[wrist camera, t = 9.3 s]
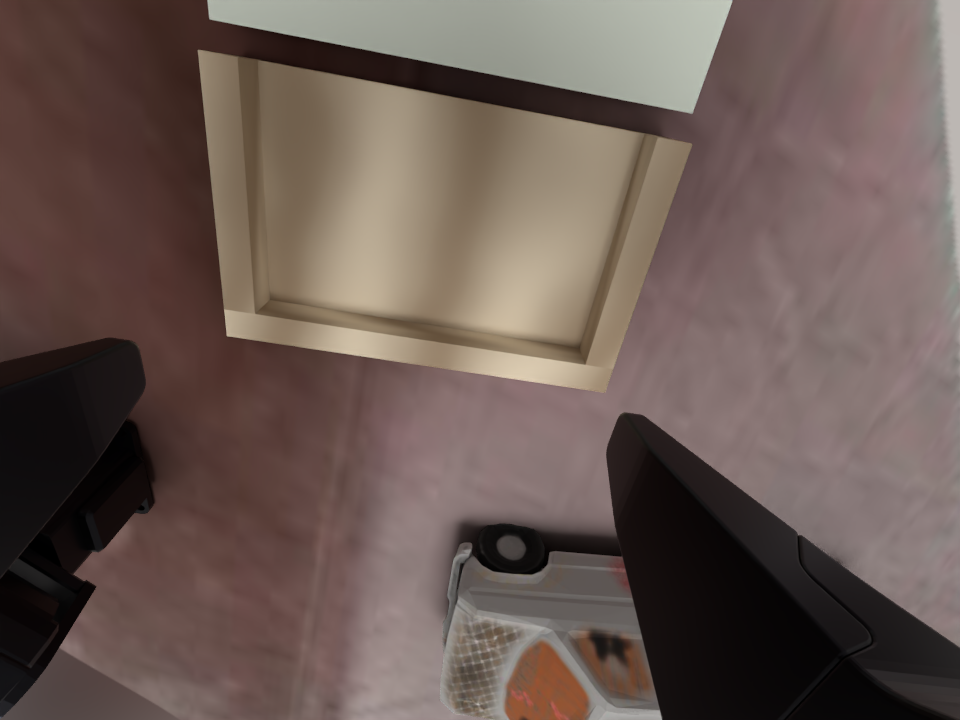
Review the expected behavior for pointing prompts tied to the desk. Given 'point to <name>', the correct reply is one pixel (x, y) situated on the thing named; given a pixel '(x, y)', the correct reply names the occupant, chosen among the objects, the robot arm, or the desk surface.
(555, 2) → the panel
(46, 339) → the desk surface
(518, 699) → the toy car
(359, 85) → the tray
